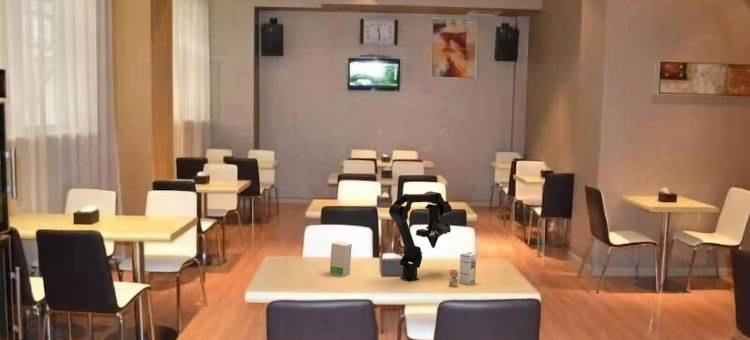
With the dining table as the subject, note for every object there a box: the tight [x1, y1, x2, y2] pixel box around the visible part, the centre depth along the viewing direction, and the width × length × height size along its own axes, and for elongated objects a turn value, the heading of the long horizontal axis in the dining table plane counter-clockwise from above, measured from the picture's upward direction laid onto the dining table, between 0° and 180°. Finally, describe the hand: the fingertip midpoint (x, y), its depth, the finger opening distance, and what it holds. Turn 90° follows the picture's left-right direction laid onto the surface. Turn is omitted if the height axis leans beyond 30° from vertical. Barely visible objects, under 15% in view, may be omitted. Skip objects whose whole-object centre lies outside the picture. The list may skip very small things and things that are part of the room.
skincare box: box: [329, 240, 353, 278], centre depth 339 cm, size 8×7×16 cm
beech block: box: [448, 275, 459, 288], centre depth 327 cm, size 4×4×4 cm
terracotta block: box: [449, 269, 459, 278], centre depth 339 cm, size 4×4×4 cm
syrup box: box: [458, 251, 477, 286], centre depth 332 cm, size 6×6×14 cm
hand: (433, 247), depth 345 cm, fingers closed
